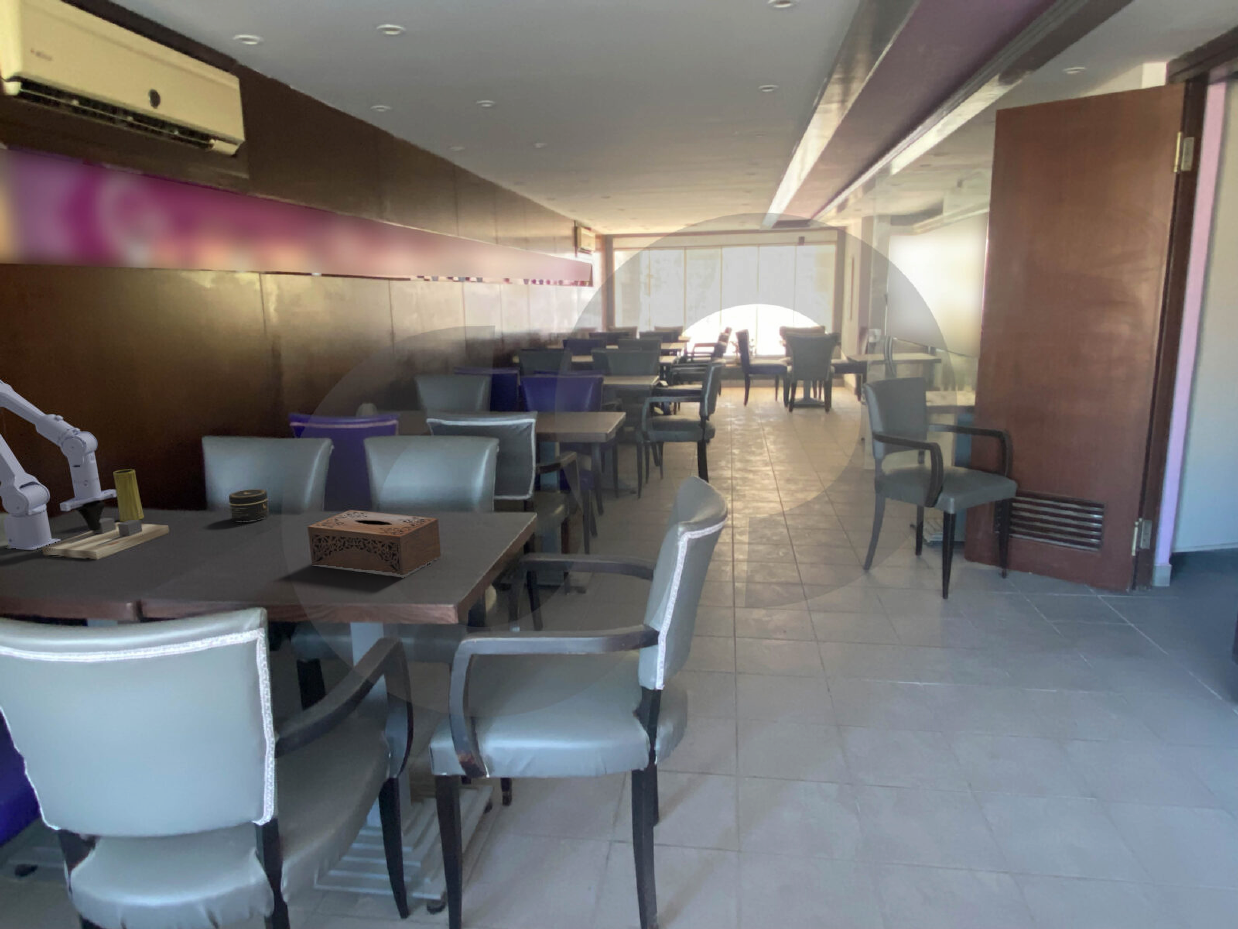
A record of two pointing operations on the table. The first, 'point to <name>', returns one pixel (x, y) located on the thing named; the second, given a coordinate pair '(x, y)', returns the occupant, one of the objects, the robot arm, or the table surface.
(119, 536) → the wooden board
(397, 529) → the tissue box cover
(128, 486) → the vase
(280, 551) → the table surface
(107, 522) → the inner knob
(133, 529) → the outer knob
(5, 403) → the robot arm
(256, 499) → the jar
